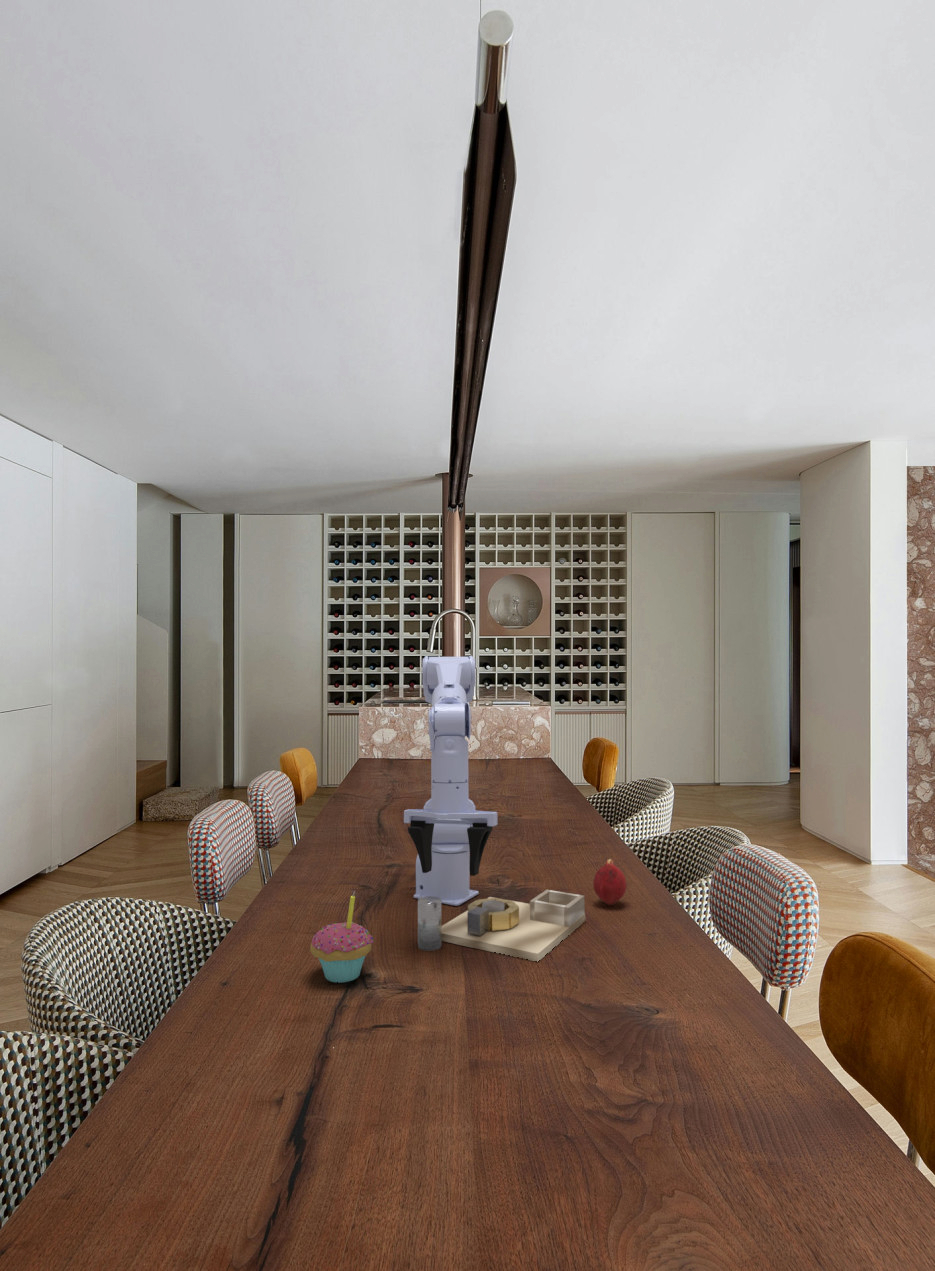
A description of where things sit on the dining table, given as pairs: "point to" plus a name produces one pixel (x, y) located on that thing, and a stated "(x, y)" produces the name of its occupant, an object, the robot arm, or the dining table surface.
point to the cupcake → (342, 948)
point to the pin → (429, 923)
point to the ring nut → (491, 917)
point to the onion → (609, 883)
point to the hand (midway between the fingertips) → (450, 873)
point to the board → (524, 926)
